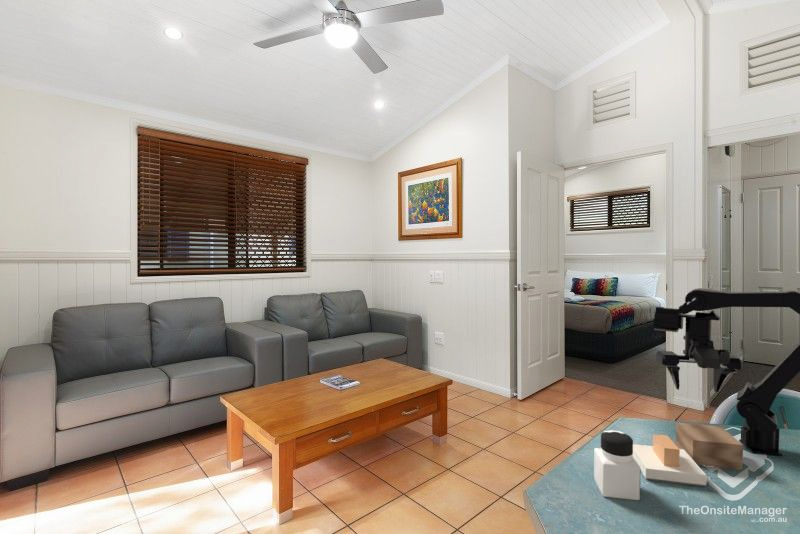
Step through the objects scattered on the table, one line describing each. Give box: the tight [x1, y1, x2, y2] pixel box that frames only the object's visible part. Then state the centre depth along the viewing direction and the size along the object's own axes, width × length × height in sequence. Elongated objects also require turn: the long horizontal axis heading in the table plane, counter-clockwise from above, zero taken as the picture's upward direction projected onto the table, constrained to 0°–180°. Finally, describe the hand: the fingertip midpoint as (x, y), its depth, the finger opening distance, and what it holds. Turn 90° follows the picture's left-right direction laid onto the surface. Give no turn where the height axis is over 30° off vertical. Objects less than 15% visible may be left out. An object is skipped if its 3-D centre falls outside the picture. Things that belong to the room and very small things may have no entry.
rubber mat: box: [645, 478, 705, 487], centre depth 94 cm, size 11×11×1 cm
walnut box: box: [675, 422, 744, 471], centre depth 100 cm, size 10×10×6 cm
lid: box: [633, 433, 707, 486], centre depth 94 cm, size 12×12×6 cm
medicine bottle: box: [593, 429, 641, 501], centre depth 87 cm, size 7×7×12 cm
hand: (696, 390), depth 112 cm, fingers open, 9 cm apart
